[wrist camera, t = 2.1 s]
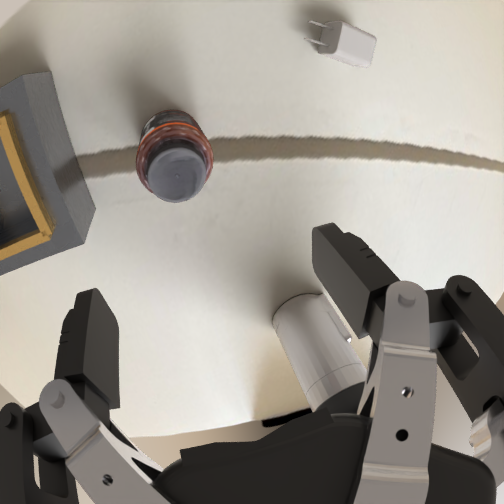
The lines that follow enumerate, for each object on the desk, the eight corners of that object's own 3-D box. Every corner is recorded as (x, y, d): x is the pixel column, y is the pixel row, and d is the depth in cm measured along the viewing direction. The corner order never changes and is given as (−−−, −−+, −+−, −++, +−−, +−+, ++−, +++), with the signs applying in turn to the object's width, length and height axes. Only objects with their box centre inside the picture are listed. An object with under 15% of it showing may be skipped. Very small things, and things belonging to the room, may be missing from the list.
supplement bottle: (132, 123, 26) (117, 155, 17) (188, 99, 26) (204, 116, 17) (154, 174, 29) (154, 228, 20) (207, 151, 30) (232, 195, 21)
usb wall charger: (348, 65, 28) (370, 68, 24) (294, 47, 25) (312, 46, 22) (356, 35, 25) (377, 35, 22) (302, 15, 23) (321, 10, 20)
